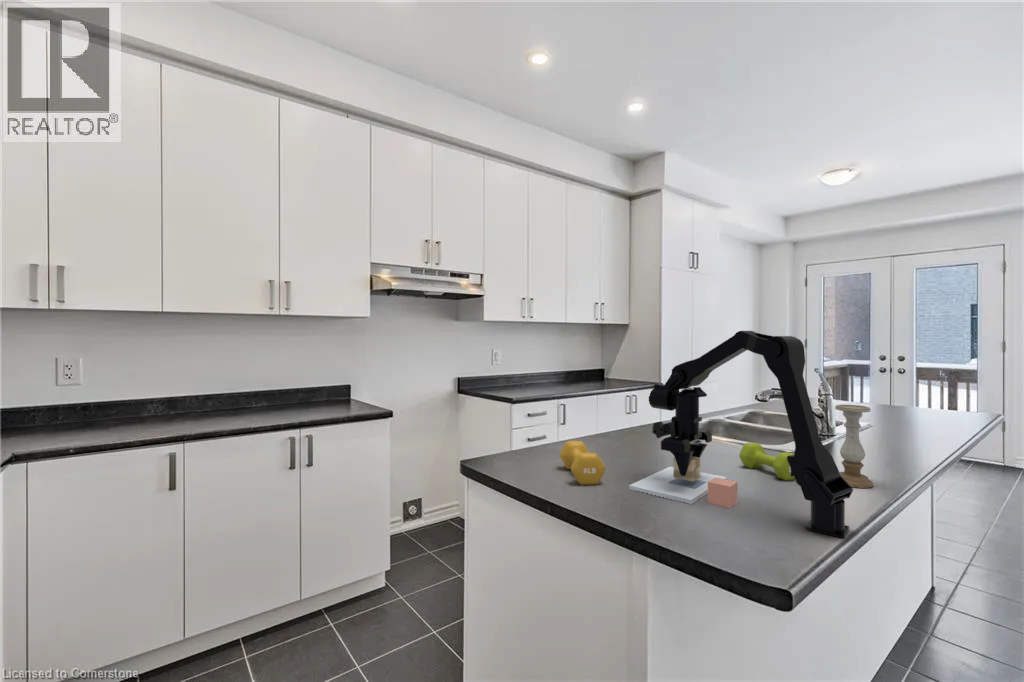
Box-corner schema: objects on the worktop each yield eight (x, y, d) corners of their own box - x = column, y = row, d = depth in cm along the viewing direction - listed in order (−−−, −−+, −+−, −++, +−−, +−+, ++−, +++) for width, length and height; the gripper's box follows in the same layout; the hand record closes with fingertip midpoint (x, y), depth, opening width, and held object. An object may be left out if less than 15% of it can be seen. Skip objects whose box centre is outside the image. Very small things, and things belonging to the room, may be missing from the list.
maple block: (692, 481, 120) (692, 461, 120) (673, 477, 123) (673, 458, 123) (700, 477, 124) (700, 457, 124) (681, 473, 127) (681, 454, 127)
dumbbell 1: (558, 467, 143) (558, 440, 143) (588, 466, 144) (588, 439, 144) (572, 487, 124) (572, 455, 124) (606, 486, 125) (606, 454, 125)
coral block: (730, 508, 108) (730, 486, 108) (707, 503, 111) (707, 482, 111) (737, 502, 112) (737, 481, 112) (715, 498, 115) (715, 477, 115)
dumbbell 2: (805, 480, 129) (805, 453, 129) (781, 483, 127) (781, 455, 127) (758, 464, 145) (758, 441, 145) (736, 466, 143) (736, 442, 143)
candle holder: (825, 481, 128) (825, 405, 128) (843, 476, 132) (844, 403, 132) (861, 490, 120) (861, 409, 120) (880, 485, 124) (880, 407, 124)
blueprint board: (691, 504, 111) (691, 499, 111) (629, 489, 121) (629, 484, 121) (727, 481, 128) (727, 476, 128) (670, 469, 139) (670, 465, 139)
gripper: (672, 406, 136) (672, 461, 136) (641, 414, 122) (641, 475, 122) (712, 410, 128) (712, 468, 128) (683, 419, 114) (683, 484, 114)
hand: (687, 473), depth 123 cm, fingers closed on maple block, 5 cm apart
